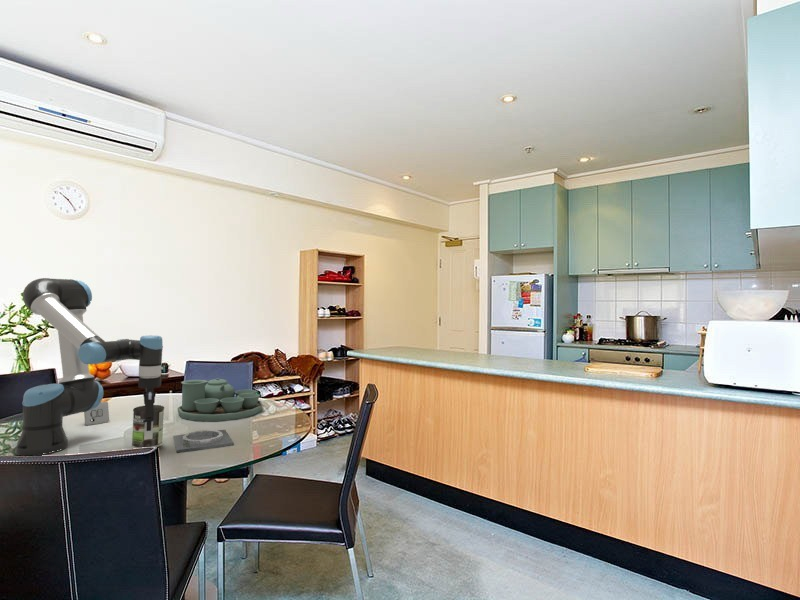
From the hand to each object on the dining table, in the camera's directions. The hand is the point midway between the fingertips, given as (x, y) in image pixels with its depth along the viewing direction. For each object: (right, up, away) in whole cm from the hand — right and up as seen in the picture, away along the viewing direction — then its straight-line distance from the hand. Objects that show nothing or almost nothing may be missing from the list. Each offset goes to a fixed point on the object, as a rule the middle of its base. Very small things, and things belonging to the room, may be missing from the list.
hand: (147, 435), depth 168 cm
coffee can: (0, -4, 0) cm, 4 cm away
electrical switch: (-42, -5, +33) cm, 54 cm away
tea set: (+5, -6, +59) cm, 59 cm away
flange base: (+17, -6, +10) cm, 20 cm away
